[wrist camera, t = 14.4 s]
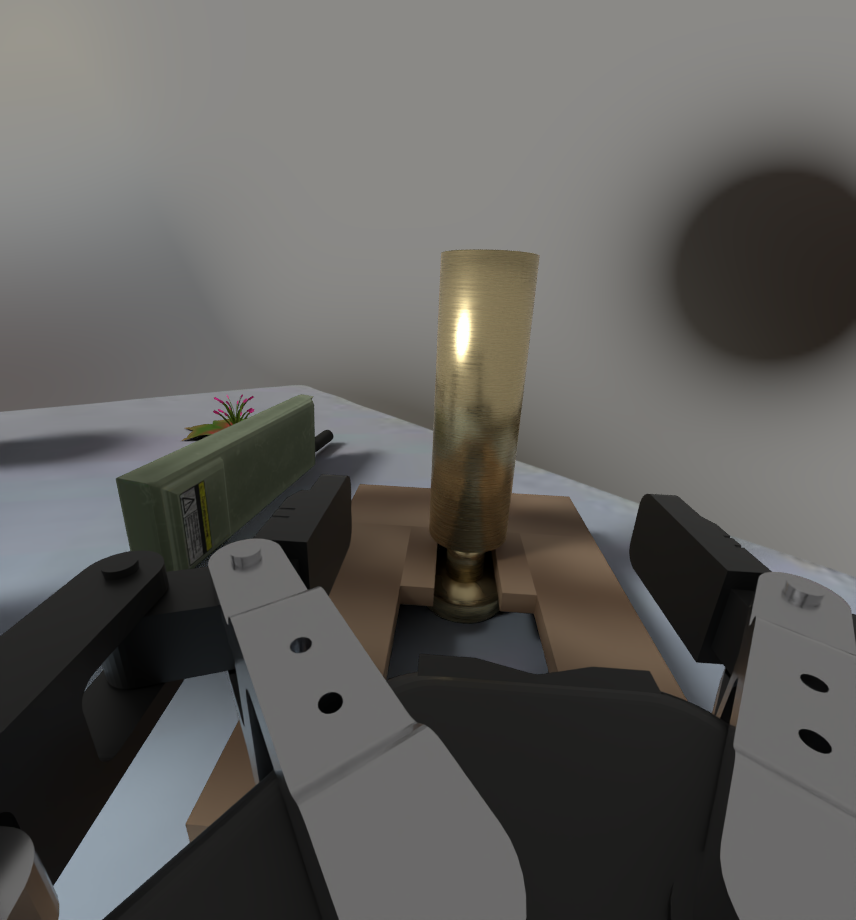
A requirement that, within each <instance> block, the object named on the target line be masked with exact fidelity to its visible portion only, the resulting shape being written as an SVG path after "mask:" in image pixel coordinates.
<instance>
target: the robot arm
mask: <svg viewBox="0 0 856 920" xmlns="http://www.w3.org/2000/svg"><path fill="white" fill-rule="evenodd" d="M351 534H352V511H351V482H350V478H349V476H343V475H326V474H322V475H321V476H320V477H319V478H318V480H317V481H316V482H315V484H314V485H313V486H312V488H311V489H310V490H309V491H308V490H301V491H299V492H297V493H295V494H293V495H291V496H289V497H288V498H286V500H285V501H284V502H283V503H282V504H281V506H280V507H279V509H277V510H276V511H275V513H274V514H273V515H272V517H270V519H269V520H268V521H267V522H266V523H265V525H264V526H263V527H262V528H261V529H260V530H259V532H258V533H257V534H256V535H255V536H254V538H253V539H246V540H241V541H237V542H233V543H231V544H228V545H226V546H224V547H222V548H220V549H219V550H217V551H216V552H215V553H214V554H213V555H212V556H211V557H210V559H209V562H208V566H207V567H201V568H193V569H185V570H177V571H169V572H166V568H165V563H164V558H163V557H162V556H161V555H160V554H159V553H156V552H152V551H144V550H143V551H130V552H124V553H120V554H116V555H113V556H109V557H107V558H104V559H102V560H100V561H98V562H95V563H94V564H92V565H90V566H89V567H87V568H86V569H84V570H83V571H82V572H81V573H79V574H78V575H77V576H76V577H74V578H73V579H72V580H71V581H69V582H68V583H67V584H66V585H64V586H63V587H62V588H60V589H59V590H58V591H57V592H55V593H54V594H53V595H52V596H50V597H49V598H48V599H47V600H45V601H44V602H43V603H42V604H40V605H39V606H38V607H37V608H35V609H34V610H33V611H31V612H30V613H29V614H28V615H26V616H25V617H24V618H23V619H21V620H20V621H19V622H18V623H16V624H15V625H14V626H13V627H11V628H10V629H9V630H8V631H6V632H5V633H4V634H3V635H1V636H0V920H58V917H59V901H58V896H57V894H56V891H55V889H54V887H53V886H54V884H55V883H56V881H57V879H58V878H59V876H60V875H61V873H62V871H63V870H64V868H65V867H66V865H67V864H68V862H69V860H70V859H71V857H72V856H73V854H74V853H75V851H76V849H77V848H78V846H79V845H80V843H81V842H82V840H83V838H84V837H85V835H86V834H87V832H88V830H89V829H90V827H91V826H92V824H93V823H94V821H95V819H96V818H97V816H98V815H99V813H100V812H101V810H102V808H103V807H104V805H105V804H106V802H107V801H108V799H109V797H110V796H111V794H112V793H113V791H114V789H115V788H116V786H117V785H118V783H119V782H120V780H121V778H122V777H123V775H124V774H125V772H126V771H127V769H128V767H129V766H130V764H131V763H132V761H133V759H134V758H135V756H136V755H137V753H138V752H139V750H140V748H141V747H142V745H143V744H144V742H145V741H146V739H147V737H148V736H149V734H150V733H151V731H152V730H153V728H154V726H155V725H156V723H157V722H158V720H159V718H160V717H161V715H162V714H163V712H164V711H165V709H166V707H167V706H168V704H169V703H170V701H171V700H172V698H173V696H174V695H175V693H176V692H177V690H178V689H179V687H180V685H181V684H182V682H183V680H184V679H186V678H191V677H196V676H202V675H207V674H212V673H217V672H223V671H226V673H227V678H228V681H229V685H230V688H231V692H232V695H233V699H234V703H235V706H236V710H237V713H238V717H239V720H240V724H241V727H242V731H243V735H244V738H245V742H246V746H247V750H248V754H249V758H250V763H251V768H252V773H253V777H254V781H255V786H254V787H253V788H252V789H251V790H250V791H249V792H247V793H246V794H245V795H244V796H243V797H242V798H241V799H239V800H238V801H237V802H236V803H235V804H234V805H233V806H231V807H230V808H229V809H228V810H227V811H226V812H225V813H223V814H222V815H221V816H220V817H219V818H218V819H217V820H215V821H214V822H213V823H212V824H211V825H210V826H209V827H208V828H206V829H205V830H204V831H203V832H202V833H201V834H200V835H198V836H197V837H196V838H195V839H194V840H193V841H192V842H190V843H189V844H188V845H187V846H186V847H185V848H184V849H182V850H181V851H180V852H179V853H178V854H177V855H176V856H174V857H173V858H172V859H171V860H170V861H169V862H168V863H166V864H165V865H164V866H163V867H162V868H161V869H160V870H158V871H157V872H156V873H155V874H154V875H153V876H152V877H150V878H149V879H148V880H147V881H146V882H145V883H144V884H142V885H141V886H140V887H139V888H138V889H137V890H136V891H134V892H133V893H132V894H131V895H130V896H129V897H128V898H126V899H125V900H124V901H123V902H122V903H121V904H120V905H118V906H117V907H116V908H115V909H114V910H113V911H112V912H110V913H109V914H108V915H107V916H106V917H105V918H104V919H102V920H856V615H855V614H852V613H851V608H850V606H849V605H848V603H847V602H846V601H845V600H844V599H843V598H842V597H840V596H839V595H838V594H836V593H835V592H833V591H832V590H830V589H828V588H826V587H824V586H822V585H820V584H818V583H816V582H814V581H811V580H809V579H806V578H803V577H800V576H796V575H792V574H788V573H782V572H772V571H770V570H769V569H768V568H767V567H766V566H765V565H763V564H762V563H761V562H760V561H759V560H758V559H756V558H755V557H754V556H753V555H752V554H751V553H749V552H748V551H747V550H746V549H745V548H741V545H740V544H739V543H738V542H737V541H735V540H734V539H733V538H730V536H729V535H728V534H727V533H726V532H725V531H723V530H722V529H721V528H720V527H719V526H717V525H716V524H715V523H713V522H711V521H709V520H707V519H705V518H703V517H701V516H700V515H699V514H698V513H697V512H695V511H694V510H693V509H692V508H691V507H690V506H689V505H687V504H686V503H685V502H684V501H683V500H682V499H681V498H679V497H678V496H675V495H658V494H646V495H644V496H643V498H642V499H641V502H640V505H639V509H638V513H637V517H636V522H635V526H634V530H633V534H632V538H631V543H630V549H629V554H630V561H631V564H632V567H633V569H634V570H635V572H636V573H637V575H638V576H639V578H640V579H641V581H642V582H643V584H644V585H645V587H646V588H647V590H648V591H649V593H650V594H651V595H652V597H653V598H654V600H655V601H656V603H657V604H658V606H659V607H660V609H661V610H662V612H663V613H664V615H665V616H666V618H667V619H668V621H669V622H670V624H671V625H672V627H673V628H674V630H675V631H676V633H677V634H678V636H679V637H680V639H681V640H682V642H683V643H684V645H685V646H686V648H687V649H688V651H689V652H690V654H691V655H692V657H693V658H694V660H695V661H696V662H698V663H712V664H723V665H724V666H725V669H724V672H723V675H722V677H721V680H720V683H719V687H718V691H717V695H716V699H715V703H714V707H713V711H712V713H710V712H708V711H706V710H704V709H703V708H701V707H699V706H697V705H695V704H693V703H690V702H688V701H686V700H684V699H682V698H679V697H676V696H673V695H671V694H668V693H665V692H661V691H660V689H659V687H658V686H657V684H656V682H655V680H654V678H653V676H652V674H651V672H650V671H646V670H633V669H619V668H606V667H586V668H579V669H572V670H566V671H559V672H552V673H546V674H532V673H527V672H524V671H520V670H517V669H513V668H510V667H506V666H503V665H499V664H495V663H492V662H488V661H485V660H481V659H478V658H471V657H457V656H444V655H430V654H419V664H418V672H414V673H408V674H404V675H401V676H397V677H394V678H391V679H389V680H385V679H384V677H383V676H382V674H381V673H380V671H379V670H378V668H377V667H376V665H375V664H374V663H373V661H372V660H371V658H370V657H369V655H368V654H367V652H366V651H365V649H364V648H363V646H362V645H361V643H360V642H359V640H358V639H357V638H356V636H355V635H354V633H353V632H352V630H351V629H350V627H349V626H348V624H347V623H346V621H345V620H344V618H343V617H342V615H341V614H340V613H339V611H338V610H337V608H336V607H335V605H334V604H333V602H332V601H331V599H330V598H329V594H330V592H331V590H332V587H333V585H334V582H335V580H336V578H337V575H338V573H339V571H340V568H341V566H342V563H343V561H344V559H345V556H346V554H347V551H348V549H349V546H350V541H351ZM101 665H102V666H103V669H104V670H103V671H102V672H101V673H100V675H99V676H98V677H97V678H96V679H95V680H94V682H93V683H92V684H91V685H90V686H89V687H88V688H87V690H86V691H85V692H84V690H85V688H86V685H87V683H88V681H89V679H90V678H91V676H92V675H93V674H94V672H95V671H96V670H97V669H98V668H99V667H100V666H101Z"/></svg>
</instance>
